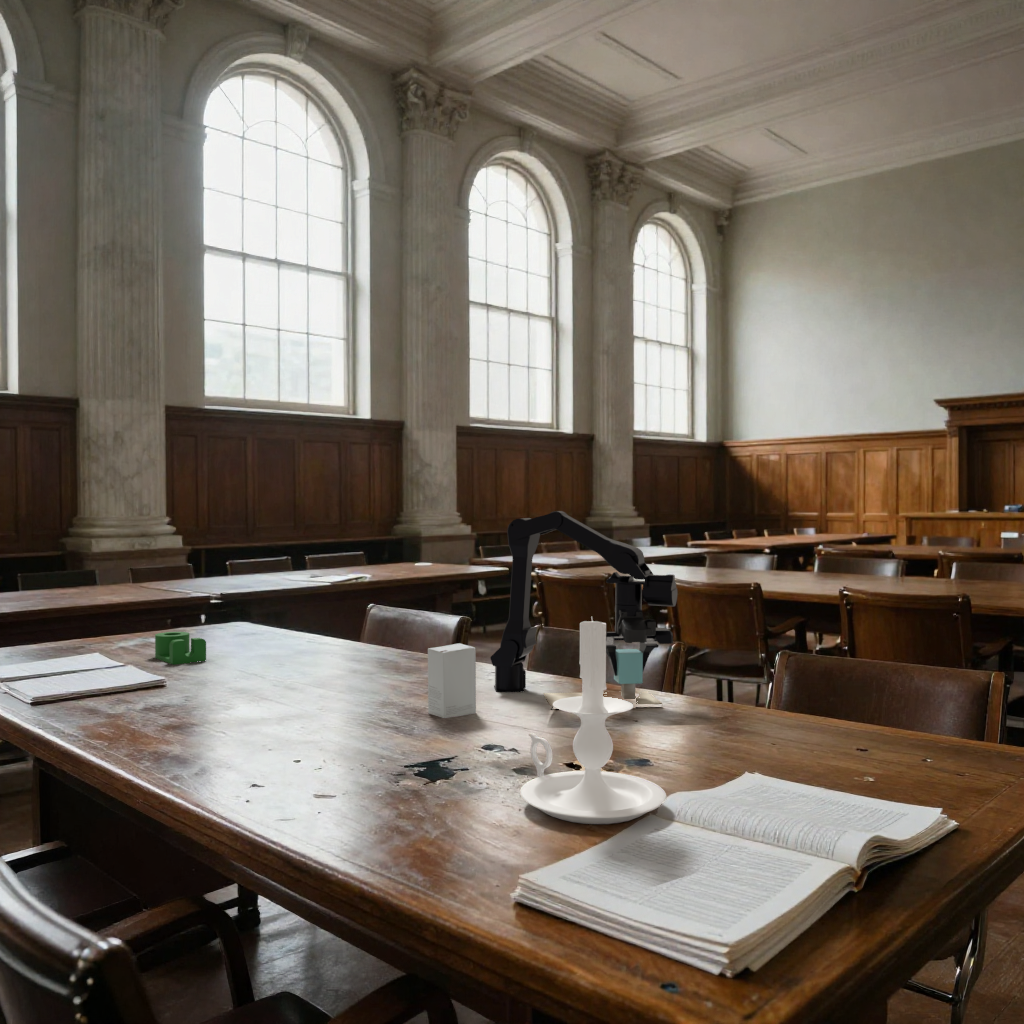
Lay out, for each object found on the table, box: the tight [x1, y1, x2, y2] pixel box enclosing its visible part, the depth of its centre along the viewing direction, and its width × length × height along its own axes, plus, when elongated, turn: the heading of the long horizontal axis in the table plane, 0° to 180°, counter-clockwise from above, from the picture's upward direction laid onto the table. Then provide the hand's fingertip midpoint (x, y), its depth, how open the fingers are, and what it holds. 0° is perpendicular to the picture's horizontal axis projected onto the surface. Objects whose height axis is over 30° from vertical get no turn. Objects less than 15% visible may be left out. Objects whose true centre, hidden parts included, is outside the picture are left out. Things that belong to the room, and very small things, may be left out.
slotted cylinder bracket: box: [154, 631, 207, 666], centre depth 256 cm, size 18×9×6 cm, turn 39°
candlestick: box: [519, 616, 668, 825], centre depth 133 cm, size 21×25×28 cm
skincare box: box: [427, 642, 477, 719], centre depth 186 cm, size 8×6×15 cm
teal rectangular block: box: [613, 648, 644, 685], centre depth 203 cm, size 5×5×7 cm
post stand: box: [542, 684, 663, 707], centre depth 202 cm, size 24×12×8 cm, turn 96°
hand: (628, 675), depth 203 cm, fingers closed on teal rectangular block, 5 cm apart
